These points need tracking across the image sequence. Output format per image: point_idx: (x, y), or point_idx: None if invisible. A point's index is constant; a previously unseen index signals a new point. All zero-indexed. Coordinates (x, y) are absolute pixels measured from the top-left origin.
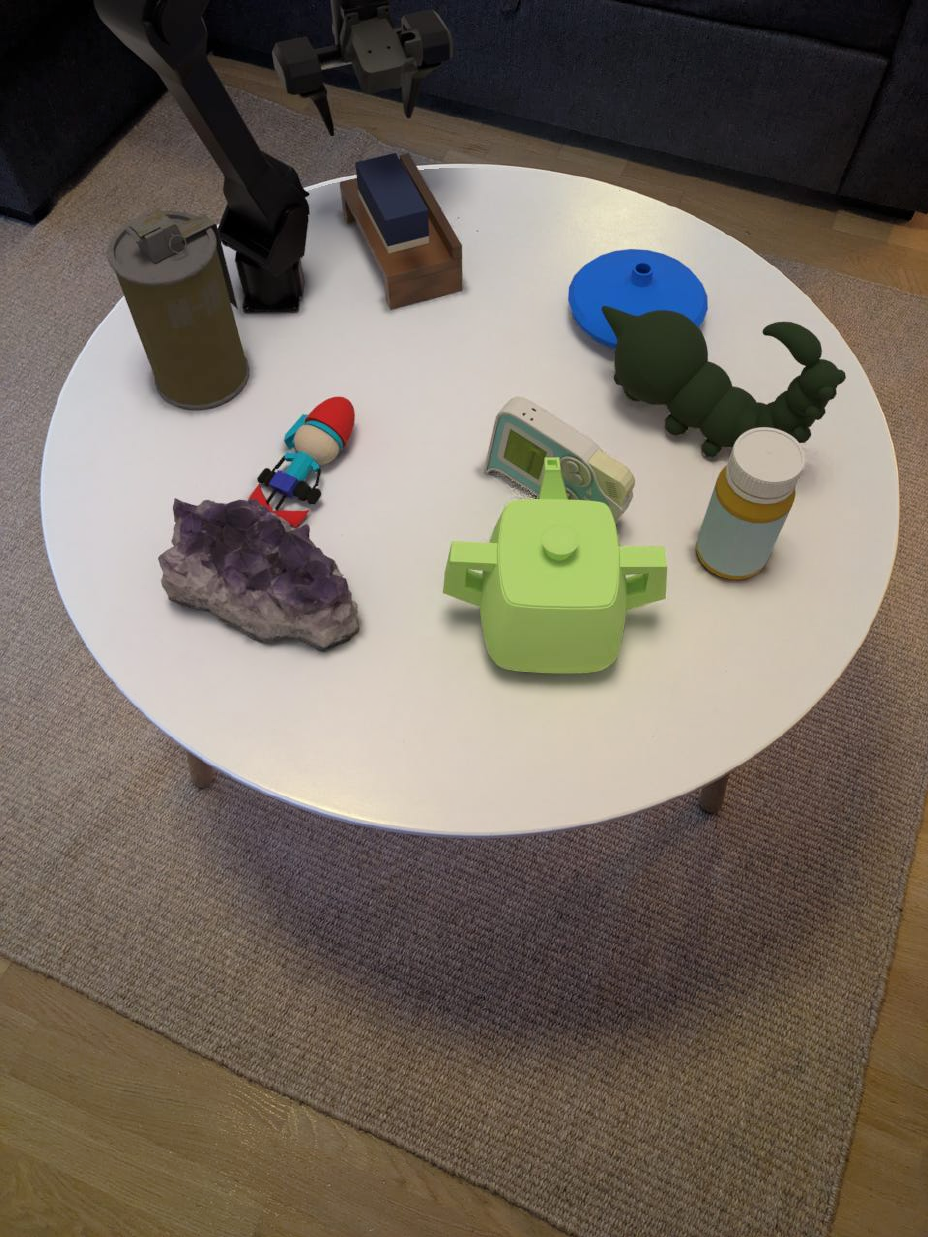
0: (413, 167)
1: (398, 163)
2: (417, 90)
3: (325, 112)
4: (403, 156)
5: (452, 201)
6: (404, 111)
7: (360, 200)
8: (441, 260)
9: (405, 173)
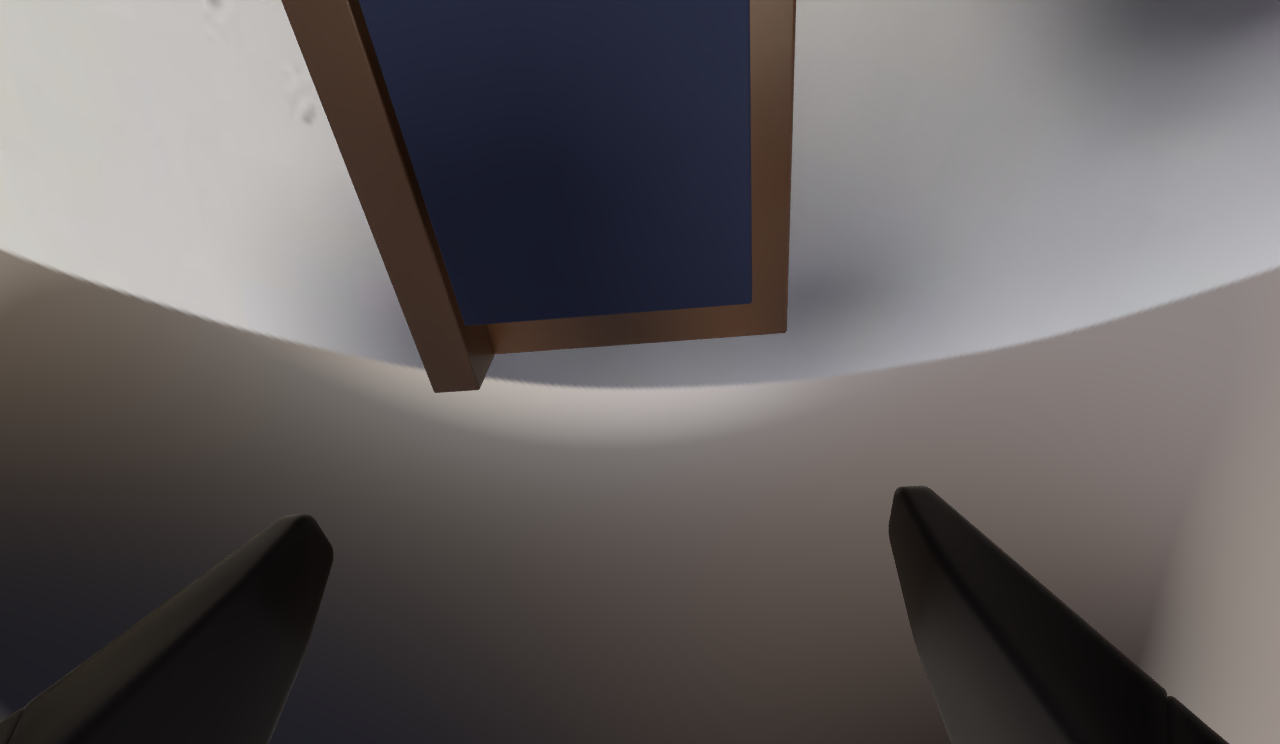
0: (412, 288)
1: (451, 209)
2: (10, 729)
3: (1128, 711)
4: (461, 375)
5: (339, 225)
6: (326, 566)
7: None
8: None
9: (397, 69)
